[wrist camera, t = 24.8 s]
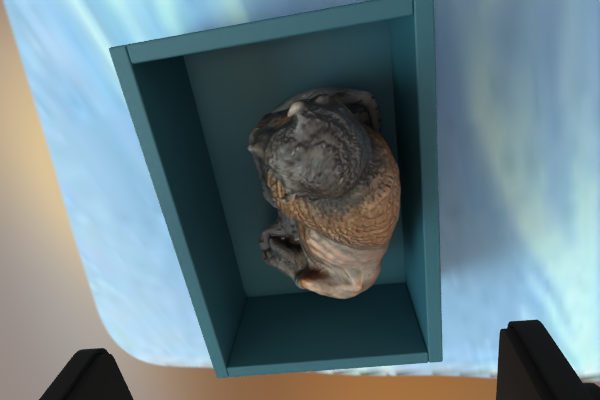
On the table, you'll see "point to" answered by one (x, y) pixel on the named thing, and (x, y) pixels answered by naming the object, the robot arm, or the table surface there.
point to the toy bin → (248, 190)
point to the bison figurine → (327, 189)
